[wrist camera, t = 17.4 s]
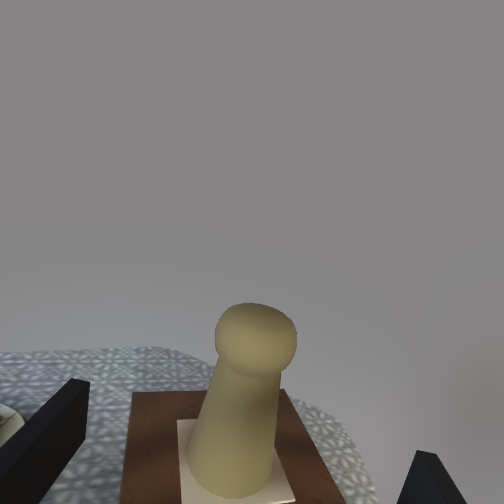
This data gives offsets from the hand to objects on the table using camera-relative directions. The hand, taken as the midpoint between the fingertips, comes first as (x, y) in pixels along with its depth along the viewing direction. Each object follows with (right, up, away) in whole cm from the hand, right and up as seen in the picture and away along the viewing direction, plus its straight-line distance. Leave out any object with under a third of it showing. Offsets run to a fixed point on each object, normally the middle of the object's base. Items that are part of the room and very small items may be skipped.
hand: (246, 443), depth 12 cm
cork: (-1, -7, +9) cm, 12 cm away
